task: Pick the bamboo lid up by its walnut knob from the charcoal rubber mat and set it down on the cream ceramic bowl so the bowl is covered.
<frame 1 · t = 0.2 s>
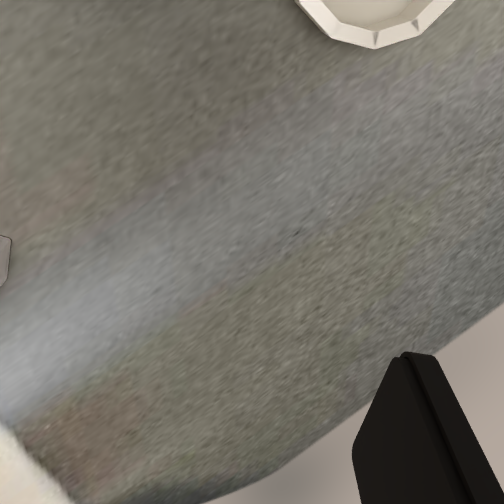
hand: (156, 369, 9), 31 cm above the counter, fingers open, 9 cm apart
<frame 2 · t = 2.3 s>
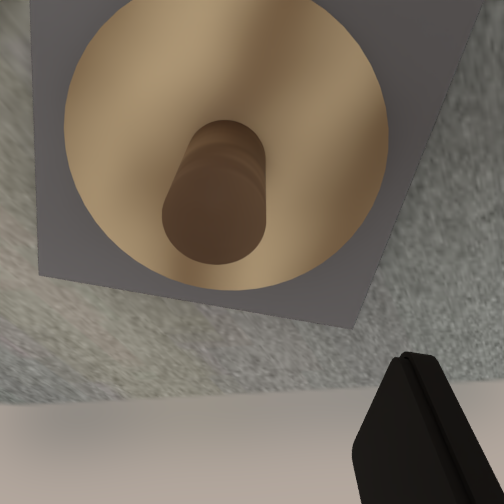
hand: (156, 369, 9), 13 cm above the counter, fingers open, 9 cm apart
lid: (227, 152, 20), point 1 cm above the counter, touching mat
mat: (228, 148, 20), on the counter
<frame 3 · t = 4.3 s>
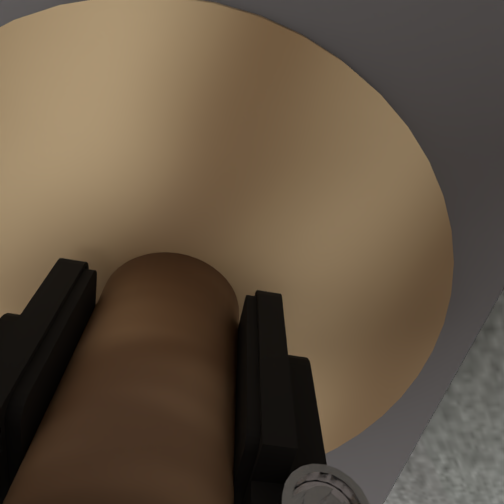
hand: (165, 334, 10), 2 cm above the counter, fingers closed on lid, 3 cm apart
lid: (175, 292, 12), point 1 cm above the counter, touching gripper, mat
mat: (178, 278, 12), on the counter
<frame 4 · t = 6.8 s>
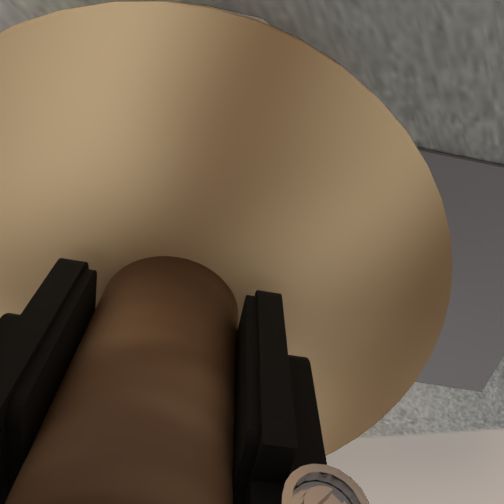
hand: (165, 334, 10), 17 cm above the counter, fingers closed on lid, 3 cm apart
lid: (174, 295, 12), point 16 cm above the counter, touching gripper
mat: (415, 277, 30), on the counter
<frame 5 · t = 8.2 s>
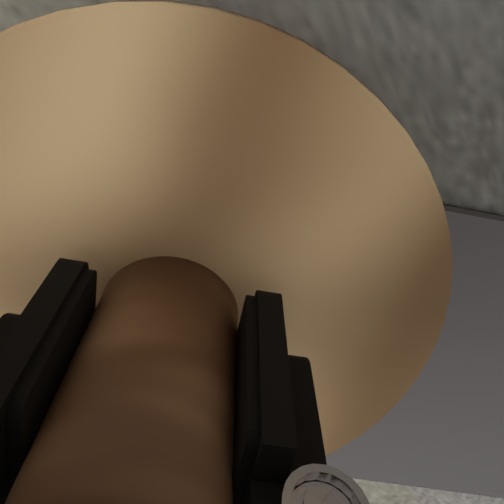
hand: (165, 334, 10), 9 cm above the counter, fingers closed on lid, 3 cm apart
lid: (174, 295, 12), point 7 cm above the counter, touching gripper
mat: (473, 373, 23), on the counter
when the fingers open (7 cm above the counter, at t = 9.2 s): lid drops 1 cm, resting on bowl.
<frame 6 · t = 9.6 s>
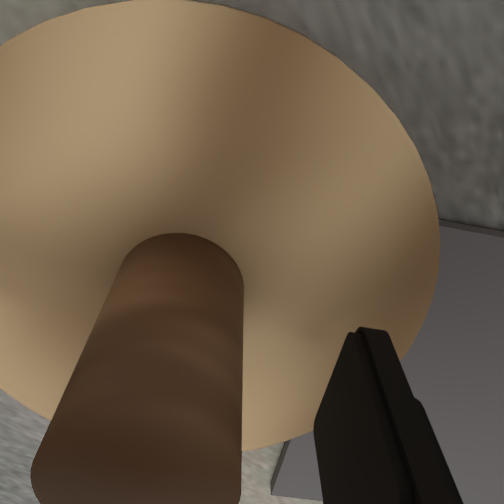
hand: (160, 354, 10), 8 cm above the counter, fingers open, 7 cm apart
lid: (184, 271, 13), point 4 cm above the counter, touching bowl
mat: (481, 396, 21), on the counter
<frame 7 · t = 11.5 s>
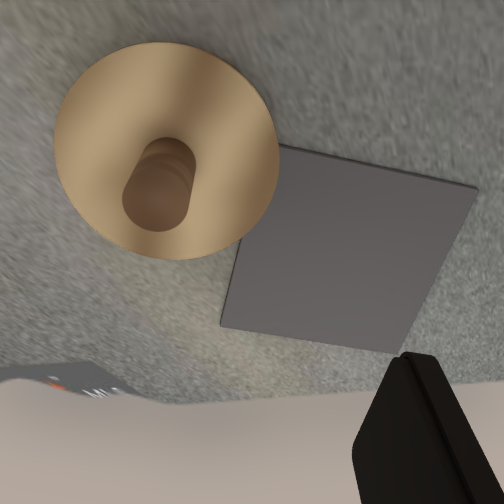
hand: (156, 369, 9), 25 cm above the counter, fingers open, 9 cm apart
lid: (170, 159, 28), point 4 cm above the counter, touching bowl
mat: (338, 259, 38), on the counter
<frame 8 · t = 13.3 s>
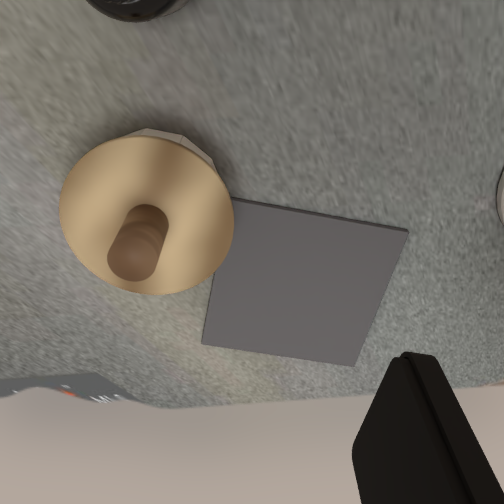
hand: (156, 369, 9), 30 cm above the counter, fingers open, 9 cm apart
lid: (149, 218, 36), point 4 cm above the counter, touching bowl
mat: (297, 288, 45), on the counter
bowl: (157, 194, 40), on the counter
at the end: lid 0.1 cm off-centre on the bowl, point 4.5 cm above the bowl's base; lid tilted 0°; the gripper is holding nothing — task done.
